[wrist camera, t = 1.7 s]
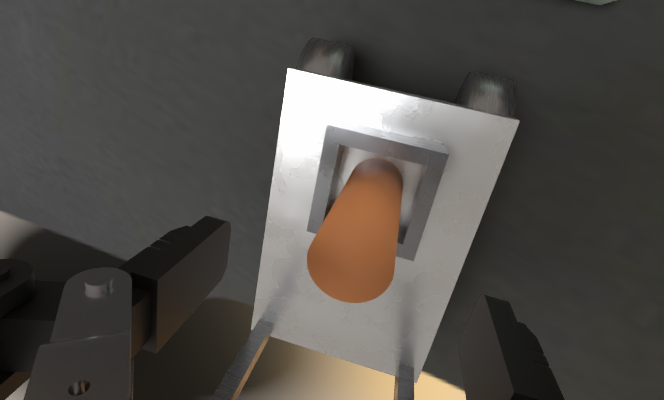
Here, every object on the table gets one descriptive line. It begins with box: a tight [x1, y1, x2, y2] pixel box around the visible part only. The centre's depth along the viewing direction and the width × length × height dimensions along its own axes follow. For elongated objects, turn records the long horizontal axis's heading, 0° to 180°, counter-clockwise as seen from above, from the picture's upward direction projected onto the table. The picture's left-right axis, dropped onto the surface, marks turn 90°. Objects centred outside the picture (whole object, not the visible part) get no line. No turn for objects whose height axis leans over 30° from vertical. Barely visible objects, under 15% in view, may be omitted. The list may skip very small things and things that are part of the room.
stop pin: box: [307, 158, 403, 303], centre depth 17 cm, size 3×3×9 cm
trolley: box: [211, 38, 520, 400], centre depth 20 cm, size 22×12×22 cm, turn 169°
